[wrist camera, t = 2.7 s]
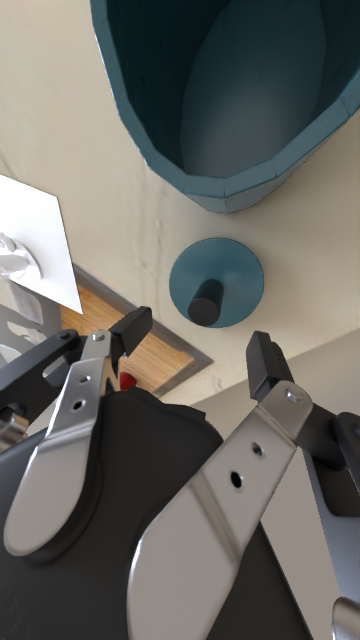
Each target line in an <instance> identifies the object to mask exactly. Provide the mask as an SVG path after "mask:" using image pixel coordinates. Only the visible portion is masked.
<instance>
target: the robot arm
mask: <svg viewBox="0 0 360 640" xmlns="http://www.w3.org/2000/svg"><path fill="white" fill-rule="evenodd" d="M152 325H153V321H152V310H151V308H150V307H145V306H141V307H139V308H138V309H137V310H134V311H132V312H130V313H128V314H127V315H126V316H125V317H123V318H122V319H121V320H119V321H118V322H117V323H116V324H114V325H113V326H112V327H111V328H109V329H108V330H98V331H95V332H93V333H92V334H90V335H89V336H79V334H78V332H77V331H76V330H75V329H66V330H62V331H60V332H57V333H56V334H54V335H53V336H51V337H50V338H48V339H46V340H45V341H43V342H41V343H40V344H38V345H37V346H35V347H33V348H32V349H31V350H29V351H27V352H25V353H24V354H22V355H21V356H19V357H17V358H16V359H14V360H13V361H11V362H10V363H8V364H6V365H5V366H3V367H2V368H0V640H313V637H312V635H311V633H310V631H309V628H308V626H307V624H306V622H305V619H304V617H303V615H302V613H301V610H300V608H299V606H298V604H297V602H296V599H295V597H294V595H293V593H292V590H291V588H290V586H289V584H288V581H287V579H286V577H285V575H284V572H283V570H282V568H281V566H280V564H279V561H278V560H277V557H276V555H275V552H274V550H273V548H272V546H271V544H270V542H269V539H268V537H267V535H266V532H265V530H264V528H263V526H262V523H261V521H260V519H261V517H262V515H263V513H264V511H265V509H266V508H267V506H268V504H269V502H270V500H271V498H272V496H273V494H274V492H275V490H276V488H277V486H278V484H279V483H280V481H281V479H282V477H283V475H284V473H285V471H286V469H287V467H288V465H289V463H290V461H291V460H292V457H293V455H294V454H295V452H296V449H297V445H298V446H299V447H301V448H302V451H303V455H304V458H305V462H306V466H307V470H308V473H309V477H310V481H311V485H312V489H313V492H314V496H315V500H316V504H317V508H318V511H319V515H320V518H321V523H322V526H323V530H324V534H325V538H326V542H327V545H328V549H329V553H330V556H331V560H332V564H333V568H334V572H335V575H336V579H337V583H338V587H339V591H340V594H341V597H340V598H338V599H336V601H335V603H334V605H333V610H332V625H331V629H332V636H333V640H360V494H359V493H360V416H358V415H355V414H353V413H349V412H342V413H340V414H338V415H335V414H333V413H331V412H329V411H328V410H326V409H324V408H322V407H320V406H318V405H316V404H315V403H313V402H312V400H311V398H310V396H309V395H308V394H307V392H305V391H304V390H303V389H302V388H301V387H300V386H298V385H297V384H295V382H294V380H293V377H292V375H291V372H290V370H289V367H288V365H287V362H286V360H285V357H284V355H283V352H282V350H281V348H280V347H279V346H278V345H277V344H276V343H275V342H272V341H271V339H270V336H269V334H268V333H265V332H260V331H255V332H254V333H253V335H252V338H251V340H250V342H249V344H248V346H247V349H246V360H247V369H248V379H249V389H250V398H251V399H254V400H257V401H258V405H257V406H256V407H255V408H254V409H253V410H252V412H250V414H249V415H248V416H247V417H246V418H245V419H244V420H243V421H242V422H241V423H240V425H239V426H238V427H237V428H236V429H235V430H234V431H233V432H232V433H231V435H230V436H229V437H228V438H227V439H226V440H225V441H224V440H223V438H222V437H221V435H220V434H219V433H218V431H217V430H216V429H215V428H214V427H213V426H212V425H211V424H210V423H209V422H208V421H206V420H205V416H206V413H205V412H202V411H199V410H197V409H194V408H192V407H189V406H186V405H176V404H165V403H163V402H161V401H160V400H159V399H157V398H156V397H155V396H153V395H152V394H151V393H150V392H148V391H146V390H144V389H141V388H138V387H136V386H133V385H131V386H130V387H129V389H128V390H121V389H120V357H121V356H124V357H127V358H128V357H129V356H130V354H131V353H132V352H133V351H134V350H135V348H136V347H137V346H138V345H139V343H140V342H141V341H142V340H143V339H144V337H145V336H146V335H147V334H148V332H149V331H150V330H151V328H152ZM60 356H62V358H63V359H64V361H65V362H64V363H62V364H61V365H60V366H59V367H58V368H57V369H55V370H54V371H53V372H52V373H50V374H49V375H48V376H47V377H46V378H44V377H43V371H44V370H45V369H46V367H48V366H49V365H50V364H52V363H53V362H54V361H55V360H57V359H58V358H59V357H60ZM60 394H61V395H60ZM59 395H60V398H59V400H58V403H57V406H56V409H55V411H54V414H53V417H52V420H51V422H50V425H49V426H48V427H46V428H44V429H42V430H40V431H39V432H37V433H35V434H33V435H31V436H29V437H28V438H27V433H25V432H26V430H27V428H28V427H29V426H30V425H31V424H32V423H33V422H34V421H35V419H37V418H38V417H39V415H40V414H41V413H42V412H43V411H44V410H45V409H46V408H47V407H48V406H49V405H50V404H51V403H52V402H53V401H54V400H55V399H56V398H57V397H58V396H59ZM349 470H350V472H351V474H352V476H351V474H350V472H349ZM352 477H353V478H352ZM353 479H354V481H355V483H354V481H353ZM355 484H356V485H355ZM356 486H357V488H358V490H359V492H358V490H357V488H356Z"/></svg>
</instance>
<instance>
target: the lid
mask: <svg viewBox="0 0 360 640" xmlns="http://www.w3.org/2000/svg"><path fill="white" fill-rule="evenodd" d="M169 289H170V295H171V298H172V301H173V303H174V305H175V306H176V308H177V309H178V311H179V312H180V313H181V314H182V315H183V316H184V317H185V318H187V319H188V320H189V321H191V322H193V323H195V324H197V325H200V326H203V327H208V328H223V327H228V326H231V325H234V324H236V323H238V322H240V321H242V320H244V319H245V318H246V317H248V316H249V315H250V314H251V313H252V312H253V310H254V309H255V308H256V306H257V305H258V303H259V301H260V299H261V297H262V293H263V289H264V275H263V270H262V268H261V265H260V263H259V261H258V259H257V258H256V256H255V255H254V254H253V253H252V252H251V251H250V250H249V249H248V248H247V247H246V246H244V245H243V244H241V243H239V242H237V241H234V240H231V239H227V238H210V239H205V240H202V241H199V242H197V243H195V244H193V245H191V246H190V247H188V248H187V249H186V250H184V251H183V252H182V253H181V254H180V256H179V257H178V258H177V260H176V261H175V263H174V265H173V267H172V270H171V273H170V279H169Z"/></svg>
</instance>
